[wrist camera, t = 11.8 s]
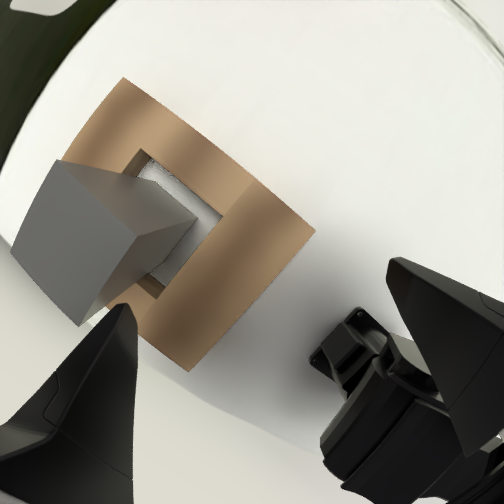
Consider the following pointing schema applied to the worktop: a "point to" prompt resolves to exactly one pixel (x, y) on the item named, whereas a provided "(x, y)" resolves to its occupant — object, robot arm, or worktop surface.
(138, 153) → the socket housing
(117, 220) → the plug block
